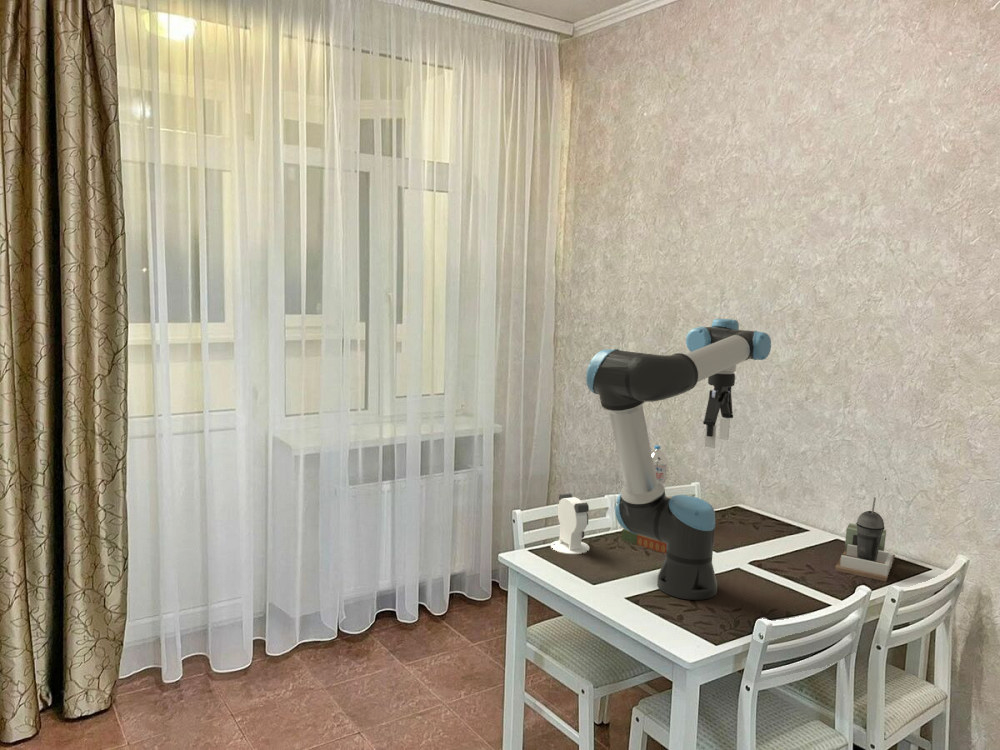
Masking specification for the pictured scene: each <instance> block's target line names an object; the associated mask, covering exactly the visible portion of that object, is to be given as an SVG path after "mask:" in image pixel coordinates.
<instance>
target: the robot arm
mask: <svg viewBox="0 0 1000 750" xmlns="http://www.w3.org/2000/svg"><path fill="white" fill-rule="evenodd" d="M711 322H712V323H711V326H699V327H694V328H692V329H691V330H689V332H687V334H686V338H685V344H686V347H687V349H688V351H689V352H687V353H682V352H678V353H677V352H676V353H672V354H670V355H663V354H652V353H644V352H635V351H627V350H621V349H618V348H615V349H611V348H610V349H608V348H605V349H602V350H600V351H598V352H597V353H596V354H595V355H593V357H592V359H591V360H590V362H589V365H588V367H587V370H586V378H585V379H586V386H587V387H588V389H589V391H590V392H592V393H593V394H595V395H598V396H599V401H600V405H601V407H602V408H603V409H604V410H606V411H607V412H608V413H609V418H610V422H611V423H610V424H611V427H612V431H613V437H614V442H615V447H616V450H617V451H616V452H617V457H618V461H619V464H620V466H619V467H620V470H621V475H622V479H623V484H624V486H623V487H622V488H621V490H620V492H619V494H618V496H617V497H616V501H615V503H616V505H615V506H614V507H615V508H614V510H615V511H614V512H615V518H616V520H617V522H618V524H619V525H620V526H621V528H622V529H626V530H628V531H630V532H632V533H635V534H638V535H642V536H645V537H648V538H652V539H655V540H658V541H661V542H664V543H666V544H667V548H666V554H665V559H664V560H663V563H662V565H661V568H660V570H659V572H658V574H657V575H658V576H657V585H656V586H657V588H658V589H659V590H661V592H662V593H664V594H666V595H668V596H671V597H674V598H679V599H683V600H693V601H694V600H695V601H696V600H697V601H698V600H699V601H700V600H701V601H702V600H707V599H711V598H714V597H715V596H716V595H717V592H718V581H717V577H716V573H715V569H714V565H713V554H714V553H713V552H714V543H715V542H714V541H715V529H716V525H717V524H716V523H717V522H716V512H715V511H716V510H715V509H714V507H713V505H712V504H711V503H709V502H707V500H704V499H702V498H699V497H696V496H693V495H692V496H691V495H689V496H688V495H686V494H676V495H673V496H671V497H667V496H666V489H665V490H664V486H663V484H662V483H661V482H660V481H658V480H657V479H656V474H655V469H654V463H653V458H652V453H651V452H652V449H651V443H650V438H649V437H650V436H649V433H648V427H647V423H646V417H645V413H644V407H643V406H644V404H645V403H646V402H647V403H650V402H651V403H652V402H659V401H662V400H667V399H670V398H674V397H676V396H680V395H682V394H685V393H687V392H690V391H691V390H692V389H694V388H695V387H696V386H697V384H698V383H699V382H701V381H703V380H705V379H708V380H707V383H708V384H709V385H710V386H713V390H711V389H710V390H709V393H708V395H709V396H708V400H707V405H706V410H705V416H704V420H703V421H702V423H703V424H702V425H706V426H705V439H704V448H705V447H706V448H712V449H715V447H716V439H717V438H716V436H717V424H716V422H717V420H718V417H719V413H720V414H721V417H720V418H719V431H718V439H719V440H725V441H728V440H729V437H730V436H729V435H730V425H731V424H730V423H731V419H733V418H734V415H733V413H734V412H733V403H732V402H733V400H732V387H734V386H735V381H736V374H735V372H736V371H737V365H739V364H741V363H743V362H746V361H748V360H754V361H763V360H766V359H767V358H768V357H769V355H770V353H771V351H772V339H771V336H770V335H769V334H768V333H767V332H764V331H757V330H743V329H739V328H740V327H739V326H740V325H739V321H738V320H737V319H732V318H731V319H730V318H714V319H713V320H712V321H711Z"/></svg>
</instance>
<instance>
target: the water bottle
mask: <svg viewBox="0 0 1000 750" xmlns="http://www.w3.org/2000/svg"><path fill="white" fill-rule="evenodd" d="M651 453H652V458H653V463H654V469H655V474H656V479H657V480H658V481H660V482H661V483H662V484H663V486H664V490H665V491H666V483H667V482H666V480H667V479H666V478H667V465H668V458H667V456H666V455H665V453H663V452H662V451H661V446H660V445H657V444H656V445H654V450H651Z"/></svg>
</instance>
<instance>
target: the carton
mask: <svg viewBox="0 0 1000 750" xmlns="http://www.w3.org/2000/svg"><path fill="white" fill-rule="evenodd" d="M621 540H622V541H623V540H625V541H624V542H626V541H628V542H627V543H629V542H631V543H630V544H632V543H634V544H633V545H636V544H637V545H636V546H639V545H640V547H642V546H643V547H642V548H645V547H646V549H648V548H649V550H651V549H653V550H652V551H654V550H656V551H655V552H658V551H659V553H661V552H663V553H662V554H664V553H666V548H667V544H666V543H664V542H661V541H658V540H655V539H652V538H648V537H645V536H642V535H638V534H635V533H632V532H630V531H628V530H626V529H624V528H622V529H621Z"/></svg>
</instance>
